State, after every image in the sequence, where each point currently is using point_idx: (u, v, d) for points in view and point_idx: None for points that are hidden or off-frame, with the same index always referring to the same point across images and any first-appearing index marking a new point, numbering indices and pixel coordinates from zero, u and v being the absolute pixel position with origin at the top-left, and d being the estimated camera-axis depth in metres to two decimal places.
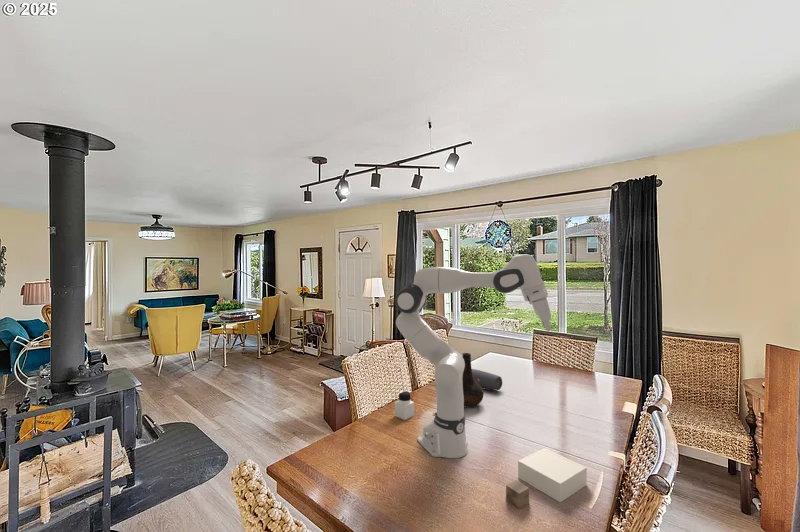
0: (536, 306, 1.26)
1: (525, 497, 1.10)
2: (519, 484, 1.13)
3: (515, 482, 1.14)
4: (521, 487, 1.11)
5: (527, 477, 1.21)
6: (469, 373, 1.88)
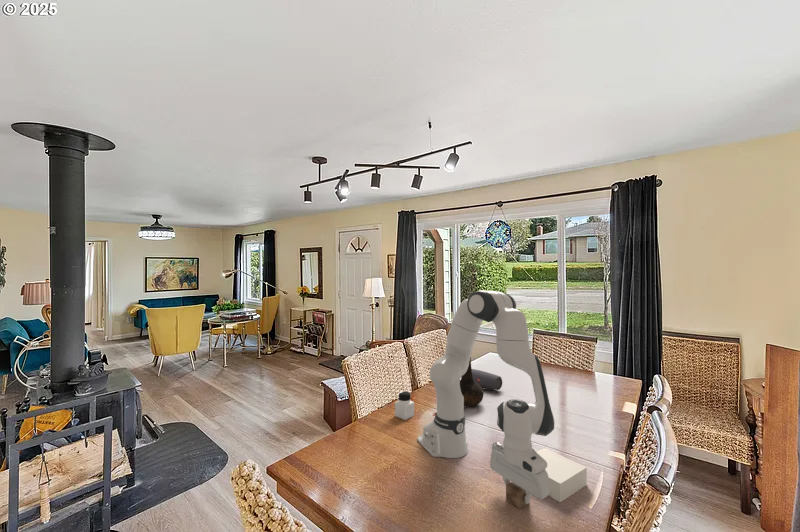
0: (540, 481, 1.03)
1: None
2: None
3: None
4: None
5: None
6: (469, 373, 1.88)
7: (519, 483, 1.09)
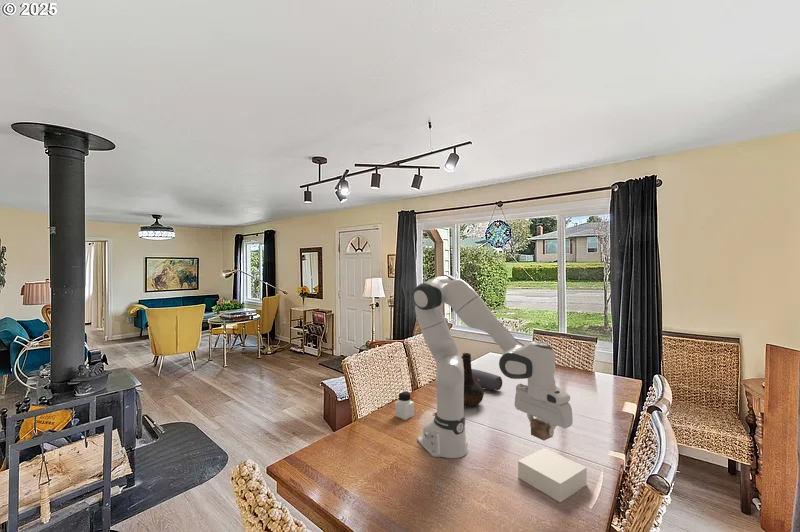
0: (564, 411, 1.10)
1: None
2: None
3: (539, 418, 1.21)
4: (545, 421, 1.18)
5: (527, 477, 1.21)
6: (469, 373, 1.88)
7: (543, 417, 1.16)
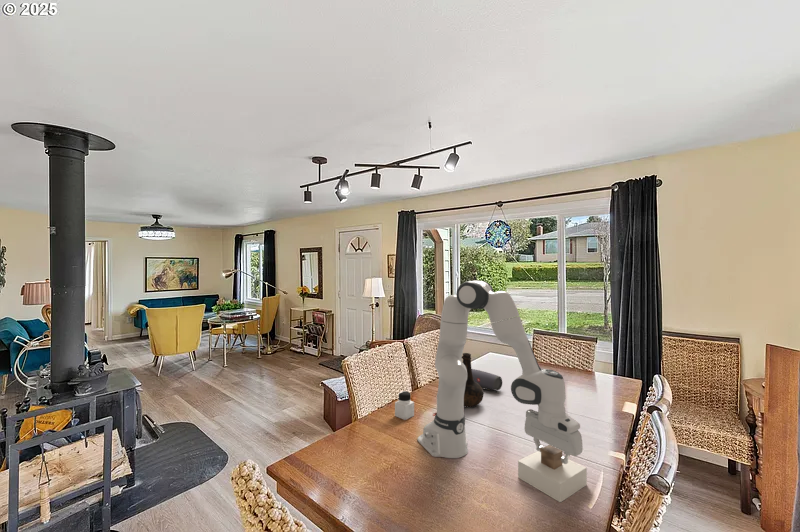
0: (575, 440, 1.14)
1: (559, 459, 1.21)
2: (553, 448, 1.23)
3: (549, 446, 1.24)
4: (555, 450, 1.22)
5: (527, 477, 1.21)
6: (469, 373, 1.88)
7: (554, 443, 1.20)
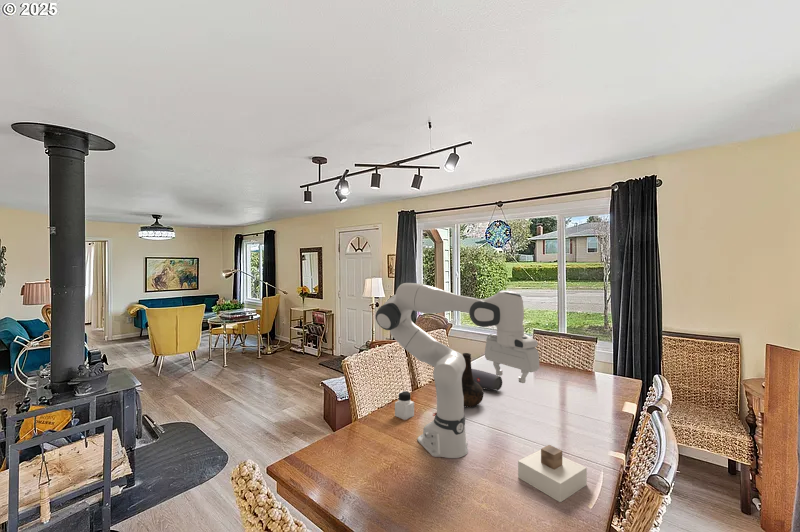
0: (531, 355, 1.10)
1: (559, 459, 1.21)
2: (553, 448, 1.23)
3: (549, 446, 1.24)
4: (555, 450, 1.22)
5: (527, 477, 1.21)
6: (469, 373, 1.88)
7: (511, 363, 1.16)
